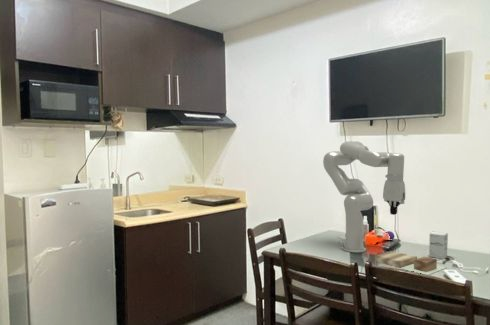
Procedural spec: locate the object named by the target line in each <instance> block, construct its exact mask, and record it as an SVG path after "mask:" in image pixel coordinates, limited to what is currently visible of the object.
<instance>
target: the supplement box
mask: <svg viewBox="0 0 490 325" xmlns="http://www.w3.org/2000/svg"><path fill="white" fill-rule="evenodd" d="M448 237H449V233H447V232H441V231H432V232H430V233H429V243H428V245H429V247H428V248H429V251H428V255H429V256H428V257H429V258H434V259H436V258H437V259H442V260H445V259H446V258H447V257H448V247H449V246H448V241H449V240H448Z"/></svg>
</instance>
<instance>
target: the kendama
mask: <svg viewBox="0 0 490 325" xmlns="http://www.w3.org/2000/svg"><path fill="white" fill-rule="evenodd" d="M385 233H388V234H389V236H390V239H393V240H394V239H395V233H394V232H392V231H391V230H390V231H389V230H388V231H385Z"/></svg>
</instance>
